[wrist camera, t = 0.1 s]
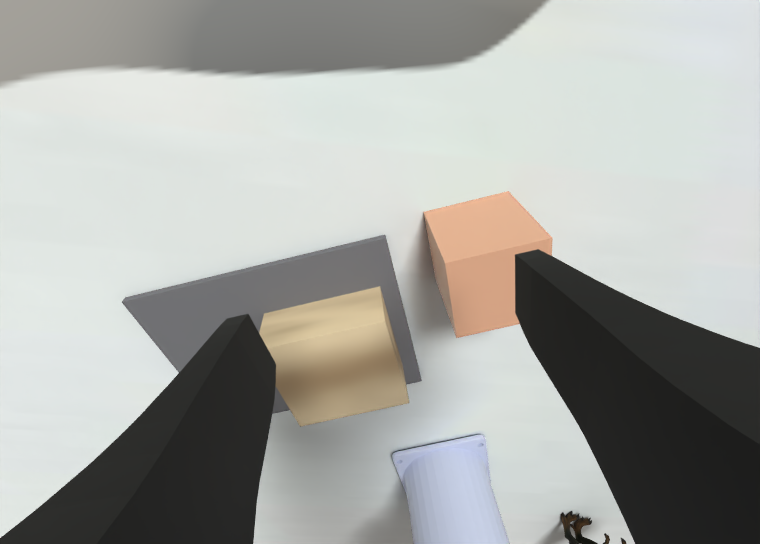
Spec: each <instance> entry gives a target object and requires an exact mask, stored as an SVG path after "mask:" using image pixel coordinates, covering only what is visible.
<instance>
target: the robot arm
mask: <svg viewBox="0 0 760 544" xmlns="http://www.w3.org/2000/svg"><path fill="white" fill-rule="evenodd" d="M515 314H516V316H517V318H518V320H519V323H520V325H521V327H522V330H523V332H524V334H525V336H526V338H527V341H528V343H529V345H530V347H531V348H532V350H533V352H534V353H535V355H536V357H537V358H538V360H539V362H540V363H541V365H542V366H543V368H544V370H545V371H546V373H547V375H548V376H549V378H550V379H551V381H552V383H553V384H554V386H555V388H556V389H557V391H558V392H559V394H560V396H561V397H562V399H563V400H564V402H565V404H566V405H567V407H568V409H569V410H570V412H571V413H572V415H573V417H574V418H575V420H576V422H577V423H578V425H579V427H580V429H581V431H582V432H583V434H584V436H585V438H586V440H587V442H588V444H589V446H590V448H591V450H592V452H593V454H594V456H595V458H596V460H597V462H598V464H599V466H600V468H601V470H602V472H603V474H604V477H605V479H606V481H607V483H608V485H609V487H610V489H611V491H612V494H613V496H614V498H615V500H616V502H617V504H618V506H619V509H620V511H621V513H622V515H623V517H624V519H625V522H626V524H627V526H628V528H629V531H630V533H631V535H632V537H633V540H634V542H635V544H760V348H758V347H755V346H752V345H749V344H745V343H742V342H740V341H737V340H734V339H731V338H728V337H725V336H722V335H720V334H717V333H714V332H712V331H709V330H706V329H704V328H701V327H699V326H696V325H693V324H691V323H688V322H686V321H683V320H680V319H678V318H676V317H673V316H671V315H668V314H666V313H664V312H661V311H659V310H657V309H655V308H653V307H650V306H648V305H646V304H644V303H642V302H639V301H637V300H635V299H633V298H631V297H629V296H627V295H625V294H623V293H620V292H618V291H616V290H614V289H612V288H610V287H608V286H606V285H605V284H603V283H601V282H599V281H597V280H595V279H593V278H591V277H589V276H587V275H586V274H584V273H582V272H580V271H578V270H576V269H575V268H573V267H571V266H569V265H567V264H565V263H564V262H562V261H560V260H558V259H556V258H554V257H553V256H551V255H549V254H547V253H545V252H543V251H541V250H539V249H537V250H533V251H528V252H524V253H519V254H515ZM275 385H276V363H275V361H274V359H273V358H272V356H271V354H270V352H269V350H268V348H267V347H266V345H265V343H264V341H263V339H262V338H261V336H260V334H259V332H258V330H257V328H256V327H255V325H254V323H253V321H252V319H251V317H250V316H249V314H245V315H240V316H236V317H231V318H227V319H226V320H225V321H224V322H223V323H222V324H221V325H220V326H219V327H218V328H217V329H216V331H215V332H214V333H213V334H212V335H211V336H210V337H209V339H208V340H207V341H206V342H205V343H204V345H203V346H202V347H201V348H200V349H199V350H198V352H197V353H196V354H195V355H194V356H193V357H192V359H191V360H190V361H189V362H188V363H187V364H186V366H185V367H184V368H183V369H182V370H181V371H180V372H179V374H178V375H177V376H176V377H175V378H174V379H173V381H172V382H171V383H170V384H169V385H168V386H167V387H166V388H165V389H164V390H163V391H162V393H161V394H160V395H159V396H158V397H157V398H156V399H155V400H154V401H153V402H152V403H151V404H150V405H149V407H148V408H147V409H146V410H145V411H144V412H143V413H142V414H141V415H140V416H139V417H138V418H137V419H136V420H135V421H134V422H133V423H132V424H131V425H130V426H129V427H128V428H127V429H126V430H125V431H124V432H123V433H122V434H121V435H120V436H119V437H118V438H117V439H116V440H115V441H114V442H113V443H112V444H111V445H110V446H109V447H108V448H107V449H106V450H104V451H103V452H102V453H101V454H100V455H99V456H98V457H97V458H96V459H95V460H94V461H93V462H92V463H90V464H89V465H88V466H87V467H86V468H85V469H84V470H82V471H81V472H80V473H79V474H78V475H77V476H75V477H74V478H73V479H72V480H71V481H70V482H68V483H67V484H66V485H65V486H64V487H62V488H61V489H60V490H59V491H58V492H57V493H55V494H54V495H53V496H52V497H51V498H50V499H48V500H47V501H46V502H45V503H44V504H43V505H41V506H40V507H39V508H38V509H36V510H35V511H34V512H33V513H32V514H30V515H29V516H28V517H26V518H25V519H24V520H23V521H21V522H20V523H19V524H18V525H16V526H15V527H14V528H12V529H11V530H10V531H9V532H7V533H6V534H5V535H4V536H2V537H1V538H0V544H253V538H254V527H255V515H256V504H257V496H258V489H259V482H260V476H261V471H262V466H263V460H264V455H265V450H266V444H267V439H268V434H269V428H270V423H271V417H272V412H273V406H274V400H275ZM392 458H393V462H394V464H395V467H396V469H397V472H398V474H399V477H400V480H401V482H402V485H403V487H404V490H405V492H406V495H407V499H408V506H409V513H410V520H411V528H412V535H413V542H414V544H510V543H509V539H508V536H507V533H506V530H505V527H504V524H503V521H502V517H501V514H500V511H499V508H498V505H497V502H496V499H495V496H494V492H493V489H492V486H491V480H490V472H489V463H488V454H487V446H486V439H485V436H484V435H481V434H480V435H474V436H470V437H465V438H460V439H455V440H450V441H446V442H441V443H436V444H431V445H426V446H422V447H417V448H412V449H407V450H402V451H398V452H395V453H393V455H392Z"/></svg>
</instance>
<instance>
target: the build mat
mask: <svg viewBox="0 0 760 544" xmlns="http://www.w3.org/2000/svg"><path fill="white" fill-rule="evenodd" d="M379 286H380V288H381V292H382V295H383V299H384V302H385V306H386V309H387V313H388V316H389V320H390V323H391V327H392V330H393V334H394V337H395V341H396V344H397V348H398V351H399V355H400V358H401V362H402V365H403V370H404V376H405V382H406V384H411V383H415V382H420V381H422V380H421V376H420V372H419V368H418V364H417V360H416V356H415V352H414V348H413V344H412V340H411V336H410V332H409V328H408V324H407V320H406V316H405V312H404V308H403V304H402V300H401V296H400V292H399V288H398V284H397V280H396V276H395V272H394V268H393V264H392V260H391V256H390V252H389V248H388V244H387V240H386V236H385V235H382V236H378V237H374V238H370V239H365V240H361V241H357V242H353V243H349V244H345V245H341V246H336V247H332V248H328V249H324V250H320V251H316V252H312V253H308V254H303V255H299V256H295V257H291V258H287V259H283V260H279V261H275V262H270V263H266V264H262V265H258V266H254V267H250V268H246V269H242V270H237V271H233V272H229V273H225V274H221V275H217V276H213V277H209V278H204V279H200V280H196V281H192V282H188V283H184V284H180V285H176V286H171V287H167V288H163V289H159V290H155V291H151V292H147V293H143V294H138V295H134V296H130V297H126V298H125V299H124V300H123V301H122V303H123V304H124V306H125V307H126V308H127V309H128V310H129V312H130V313H131V314H132V315H133V317H134V318H135V319H136V320H137V322H138V323H139V324H140V325H141V326H142V328H143V329H144V330H145V331H146V333H147V334H148V335H149V336H150V338H151V339H152V340H153V341H154V343H155V344H156V345H157V346H158V347H159V349H160V350H161V351H162V352H163V354H164V355H165V356H166V357H167V359H168V360H169V361H170V362H171V363H172V365H173V366H174V367H175V368H176V370H177V371H178V372H180V371H181V370H182V369H183V368H184V367H185V366H186V364H187V363H188V362H189V361H190V360H191V359H192V357H193V356H194V355H195V354H196V353H197V352H198V350H199V349H200V348H201V347H202V346H203V345H204V343H205V342H206V341H207V340H208V339H209V337H210V336H211V335H212V334H213V333H214V332H215V331H216V329H217V328H218V327H219V326H220V325H221V324H222V323H223V322H224V321H225V320H226V319H227V318H231V317H236V316H240V315H245V314H249V316H250V317H251V319H252V321H253V323H254V325H255V327H256V328H257V330H258V332H260V328H261V324H262V320H263V316H264V313H269V312H273V311H277V310H281V309H286V308H290V307H294V306H298V305H303V304H307V303H311V302H316V301H320V300H324V299H328V298H333V297H337V296H341V295H345V294H350V293H354V292H358V291H362V290H367V289H371V288H375V287H379ZM287 410H290V409H289V407H288V406H287V404H286V402H285V401H284V399H283V397H282V396H281V394H280V392H279V391H278V389H277V387H276V386H275V400H274V406H273V412H272V414H274V413H278V412H283V411H287Z"/></svg>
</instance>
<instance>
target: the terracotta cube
mask: <svg viewBox="0 0 760 544" xmlns="http://www.w3.org/2000/svg"><path fill="white" fill-rule="evenodd" d="M424 217H425V223H426V228H427V234H428V240H429V246H430V251H431V257H432V263H433V268H434V274H435V279H436V282H437V285H438V288H439V291H440V293H441V296H442V299H443V302H444V305H445V307H446V310H447V313H448V316H449V319H450V321H451V324H452V327H453V330H454V333H455V335H456V338H459V337H463V336H468V335H472V334H477V333H481V332H486V331H490V330H495V329H499V328H503V327H508V326H512V325H517V324H520V323H519V320H518V318H517V316H516V314H515V254H519V253H524V252H528V251H533V250H537V249H539V250H541V251H543V252H545V253H547V254H549V255H551V256H552V237H551V236H550V235H549V234H548V233H547V232H546V231H545V230H544V228H543V227H542V226H541V225H540V224H539V223H538V222H537V221H536V220H535V219H534V218H533V217H532V216H531V215H530V214H529V213H528V211H527V210H526V209H525V208H524V207H523V206H522V205H521V204H520V203H519V202H518V201H517V200H516V199H515V198H514V197H513V196H512V195H511V193H510V192H509V191H508V192H504V193H500V194H495V195H491V196H487V197H483V198H479V199H475V200H471V201H467V202H463V203H459V204H454V205H450V206H446V207H442V208H438V209H434V210H430V211H426V212H424Z"/></svg>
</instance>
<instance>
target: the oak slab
mask: <svg viewBox="0 0 760 544" xmlns="http://www.w3.org/2000/svg"><path fill="white" fill-rule="evenodd" d="M259 334H260V336H261V338H262V339H263V341H264V343H265V345H266V347H267V348H268V350H269V352H270V354H271V356H272V358H273V359H274V361H275V363H276V385H275V386H276V387H277V389H278V391H279V392H280V394H281V396H282V397H283V399H284V401H285V402H286V404H287V406H288V407H289V409H290V411H291V412H292V414H293V415H294V417H295V419H296V420H297V422H298V424H299V425H300V427H301V426H305V425H310V424H314V423H319V422H324V421H328V420H333V419H338V418H342V417H347V416H352V415H356V414H361V413H365V412H370V411H375V410H379V409H384V408H389V407H393V406H398V405H403V404H407V403H409V399H408V393H407V387H406V382H405V376H404V370H403V365H402V362H401V358H400V355H399V351H398V348H397V344H396V341H395V337H394V334H393V330H392V327H391V323H390V320H389V316H388V313H387V309H386V306H385V302H384V299H383V295H382V292H381V288H380V286H379V287H375V288H371V289H367V290H362V291H358V292H354V293H350V294H345V295H341V296H337V297H333V298H328V299H324V300H320V301H316V302H311V303H307V304H303V305H298V306H294V307H290V308H286V309H281V310H277V311H273V312H269V313H264V316H263V320H262V324H261V328H260V332H259Z"/></svg>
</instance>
